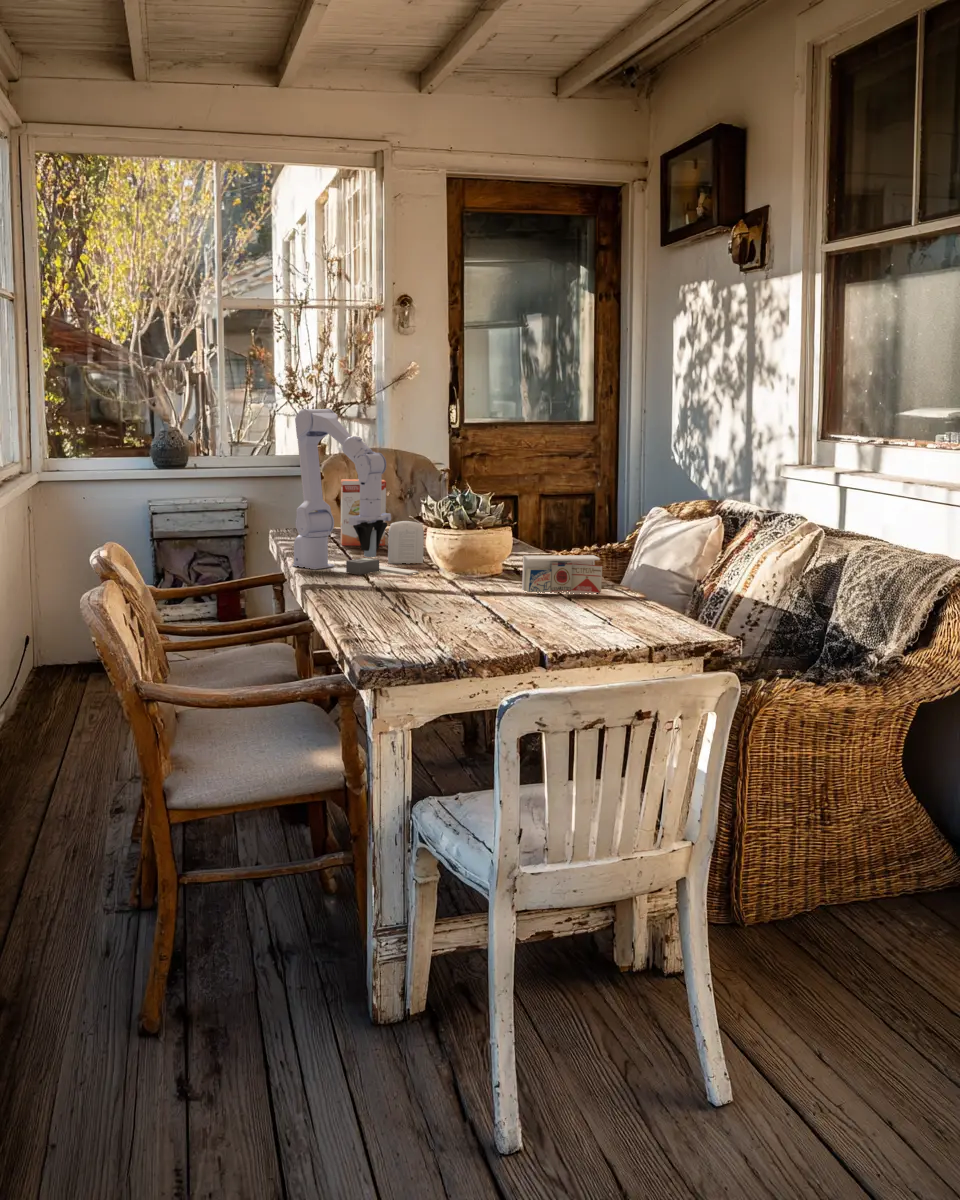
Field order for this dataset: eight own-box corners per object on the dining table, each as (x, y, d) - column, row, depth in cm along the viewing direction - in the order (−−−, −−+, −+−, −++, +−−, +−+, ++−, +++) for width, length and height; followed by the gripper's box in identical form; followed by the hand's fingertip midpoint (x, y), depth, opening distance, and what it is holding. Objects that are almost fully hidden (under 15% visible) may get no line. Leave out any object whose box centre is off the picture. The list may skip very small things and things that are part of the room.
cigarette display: (527, 595, 296) (528, 558, 294) (522, 591, 301) (523, 555, 300) (603, 594, 300) (604, 558, 298) (597, 590, 305) (598, 554, 303)
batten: (365, 568, 331) (365, 566, 331) (375, 566, 334) (375, 564, 334) (409, 575, 321) (409, 573, 321) (418, 573, 324) (418, 571, 324)
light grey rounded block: (422, 562, 344) (423, 520, 342) (424, 564, 340) (424, 522, 338) (387, 562, 343) (387, 520, 340) (388, 564, 339) (388, 522, 336)
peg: (361, 556, 314) (361, 527, 312) (369, 554, 316) (369, 526, 315) (370, 557, 312) (370, 528, 310) (378, 556, 314) (378, 527, 313)
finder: (346, 573, 324) (346, 560, 323) (365, 570, 330) (366, 557, 329) (359, 575, 321) (359, 562, 320) (379, 572, 327) (379, 559, 326)
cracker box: (342, 546, 372) (342, 480, 368) (340, 543, 378) (340, 478, 374) (386, 546, 375) (386, 480, 371) (383, 543, 380) (384, 478, 377)
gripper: (363, 502, 303) (362, 554, 306) (399, 498, 315) (399, 548, 317) (343, 499, 307) (342, 551, 310) (380, 496, 319) (379, 545, 321)
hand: (370, 549), depth 314 cm, fingers closed on peg, 3 cm apart
